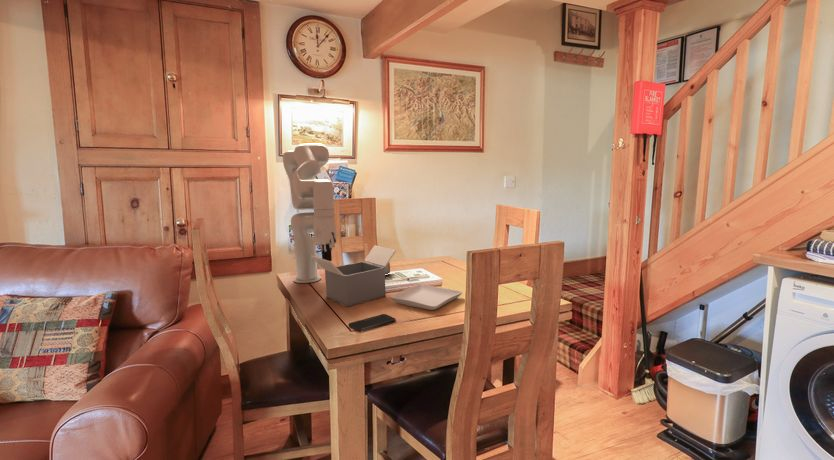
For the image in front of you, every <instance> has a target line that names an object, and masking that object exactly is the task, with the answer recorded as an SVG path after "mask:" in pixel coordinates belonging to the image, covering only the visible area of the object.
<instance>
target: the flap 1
mask: <svg viewBox="0 0 834 460" xmlns="http://www.w3.org/2000/svg"><path fill="white" fill-rule="evenodd" d="M310 257H311V258H313V259H314V260H315V261H316V262H317V265H318V266H319V267H320V268H321V269H323V270H324V271H325V270H327V271H330V272H333V273H336V274H338V275H341V276H343V275H344V274H343V273H342V272H341V271H340V270H339V269H338V268H337V266H336V265H335V264H334V263H333V262H332V261H328V260H325V259H322V257H318V256H316V257H315V256H312V255H311V256H310Z"/></svg>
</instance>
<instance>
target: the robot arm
mask: <svg viewBox="0 0 834 460" xmlns="http://www.w3.org/2000/svg"><path fill="white" fill-rule="evenodd" d="M329 158H330V152H329V149H328V148H327V146H326V145H324V144H323V143H302V144H298V145H297V146H296V147H295V148H294V149H293V150H292V149H291V150H286V151H285V152H284V153H283V155H282V163H283V168H284V170H285V172H286V175H287V177H288V179H289V186H290V195H291V196H290V197H291V203H292V207H293V208H294V210H297V211H305V210H307V211H308V210H313V211H309V212H300V213H295V214H293V215H292V216H291V218H290V225H291V229H292V234H293V235H292V236H293V242H294V256H295V257H294V258H295V273H296V276H294V277H293V280H292V281H293V282H295V283H297V284H310V283H315V282H318V281H321V280H322V276H321V275H320V274H318V263H317V262H316V261H315V260H314V259H313V258H311V257H310V256H311V255H312V256H315V257H317V245H319V246H320V251H321V258H322V259H325V260H328V261H331V262H332V260H333V259H332V258H333V257H332V252H333V251H332V250H333V248H335V245H336V243H337V240H338V238H337V237H338V236H337V235H338V234H337V227H336V226H337V225H336V219H335V218H336V217H335V199H334V197H335V196H334V184H333V182H332V181H331V180H330V179H327V178H325V179H324V178H320V179H319V178H318V179H313V178H315V177H316V176H318V175H319V173H320V171H321V169H322V167H324V166H325V165H326V164H327V163H328V162H329ZM310 234H313V237H312V236H311V235H310ZM316 244H317V245H316Z"/></svg>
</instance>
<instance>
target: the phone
mask: <svg viewBox="0 0 834 460" xmlns="http://www.w3.org/2000/svg"><path fill="white" fill-rule="evenodd" d="M396 322H397V319H396V318H395V317H392V316H390V315H388V314H386V313H381V314H378V315H373V316H371V317H366V318H363V319H360V320H359V319H358V320H356V321H352V322H348V327H349V328H350V327H351V328H350V329H352V328H353V329H354V330H353V329H352V330H353V331H355V330H356V331H355V332H357V331H358V332H357V333H362V332H361V331H363V332H366V331H369V330H373V329H376V327H377V328H380V327H383V326H387V325H390V324H393V323H396Z"/></svg>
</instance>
